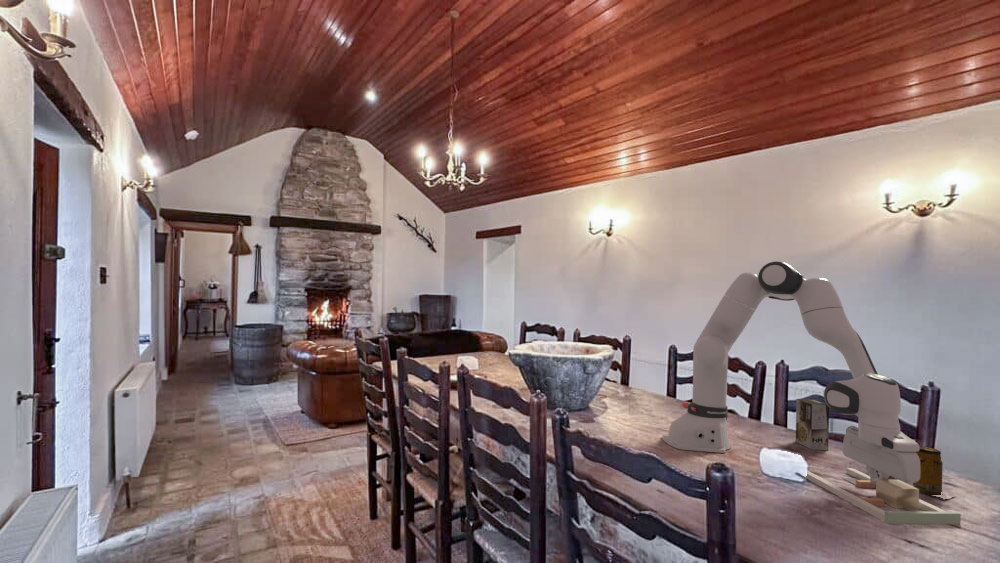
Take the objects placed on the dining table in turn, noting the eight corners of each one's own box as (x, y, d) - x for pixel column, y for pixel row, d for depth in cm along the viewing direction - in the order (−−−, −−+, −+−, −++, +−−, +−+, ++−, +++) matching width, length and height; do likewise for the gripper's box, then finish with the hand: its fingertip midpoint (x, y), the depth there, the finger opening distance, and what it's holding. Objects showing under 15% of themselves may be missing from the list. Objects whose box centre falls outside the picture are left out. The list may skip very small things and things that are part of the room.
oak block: (894, 508, 116) (895, 488, 117) (875, 497, 122) (876, 478, 123) (918, 509, 116) (919, 489, 116) (898, 498, 122) (899, 479, 122)
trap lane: (888, 523, 108) (888, 513, 108) (795, 472, 138) (795, 464, 138) (960, 524, 109) (960, 513, 109) (852, 473, 140) (853, 465, 140)
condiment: (918, 484, 133) (919, 443, 133) (957, 497, 125) (957, 453, 125) (905, 488, 130) (906, 446, 130) (944, 501, 122) (945, 456, 122)
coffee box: (829, 450, 160) (830, 404, 161) (810, 449, 160) (812, 403, 161) (812, 442, 169) (813, 398, 170) (794, 441, 170) (795, 397, 170)
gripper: (836, 423, 135) (835, 470, 135) (903, 447, 114) (902, 502, 114) (856, 423, 135) (855, 470, 135) (926, 447, 115) (925, 502, 115)
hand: (877, 485), depth 124 cm, fingers closed
